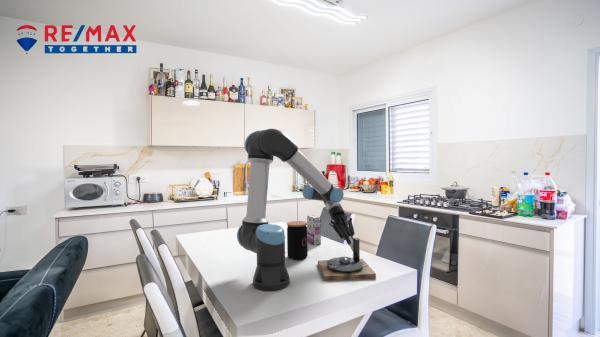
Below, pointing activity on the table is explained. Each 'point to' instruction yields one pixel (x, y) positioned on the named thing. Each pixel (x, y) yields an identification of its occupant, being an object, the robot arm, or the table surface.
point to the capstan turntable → (347, 261)
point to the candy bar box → (314, 229)
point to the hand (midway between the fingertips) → (354, 249)
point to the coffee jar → (297, 240)
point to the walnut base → (334, 275)
